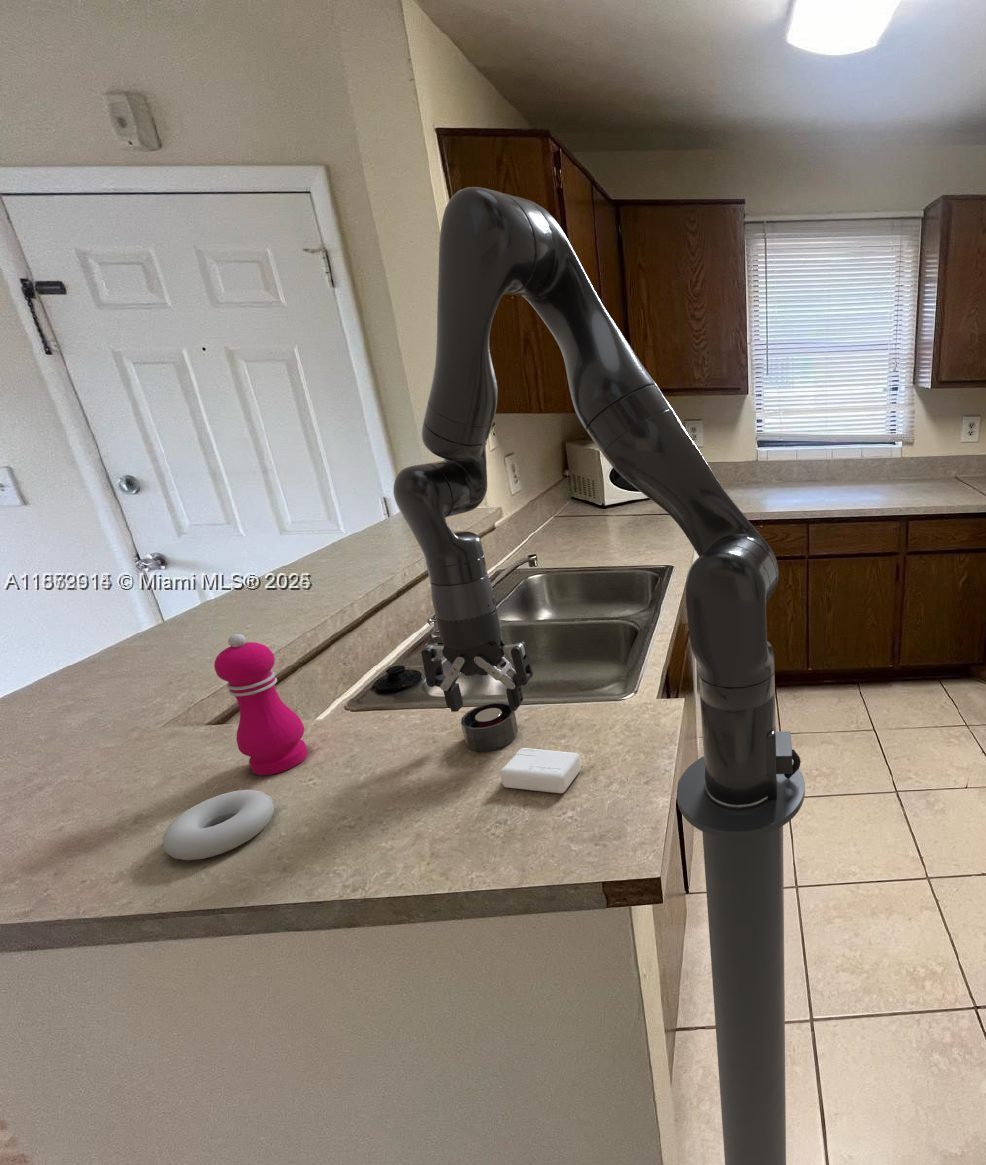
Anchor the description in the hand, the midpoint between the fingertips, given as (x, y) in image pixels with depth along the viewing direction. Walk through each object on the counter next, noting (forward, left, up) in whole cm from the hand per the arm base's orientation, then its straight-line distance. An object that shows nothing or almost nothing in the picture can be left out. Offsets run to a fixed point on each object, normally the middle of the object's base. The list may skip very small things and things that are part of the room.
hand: (486, 708), depth 87 cm
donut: (+24, +19, -5) cm, 31 cm away
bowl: (0, 0, -5) cm, 5 cm away
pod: (0, 0, -5) cm, 5 cm away
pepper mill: (+28, +5, -5) cm, 29 cm away
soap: (-11, +10, -5) cm, 16 cm away
